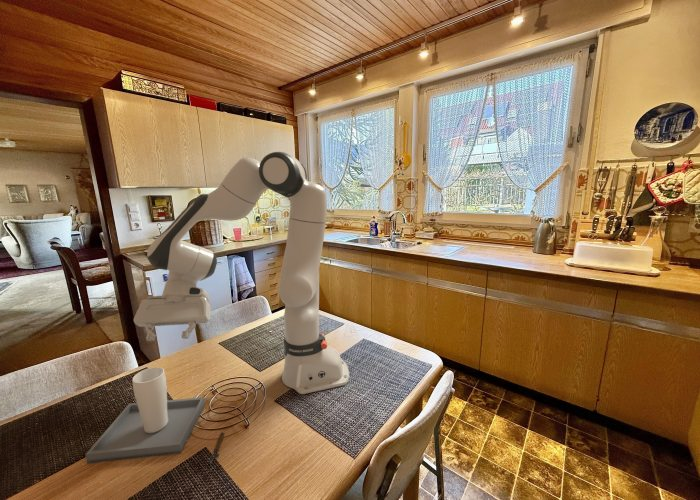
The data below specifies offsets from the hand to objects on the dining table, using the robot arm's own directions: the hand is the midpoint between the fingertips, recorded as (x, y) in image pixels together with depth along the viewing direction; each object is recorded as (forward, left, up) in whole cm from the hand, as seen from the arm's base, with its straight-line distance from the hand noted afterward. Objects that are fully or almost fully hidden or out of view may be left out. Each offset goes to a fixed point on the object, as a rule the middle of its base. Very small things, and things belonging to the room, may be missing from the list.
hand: (167, 339), depth 82 cm
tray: (0, +12, -19) cm, 23 cm away
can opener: (-18, +20, -20) cm, 33 cm away
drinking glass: (0, +12, -19) cm, 22 cm away
